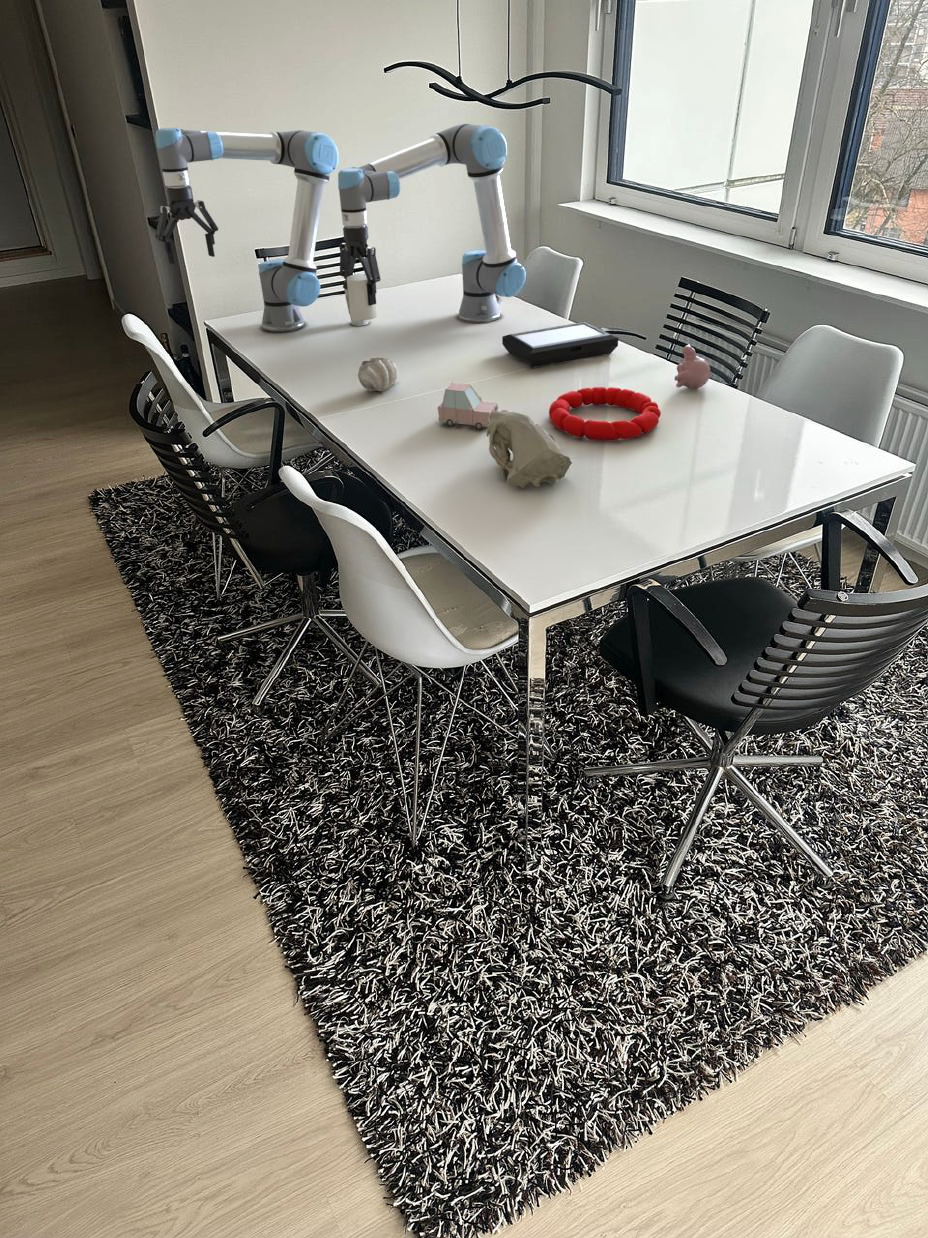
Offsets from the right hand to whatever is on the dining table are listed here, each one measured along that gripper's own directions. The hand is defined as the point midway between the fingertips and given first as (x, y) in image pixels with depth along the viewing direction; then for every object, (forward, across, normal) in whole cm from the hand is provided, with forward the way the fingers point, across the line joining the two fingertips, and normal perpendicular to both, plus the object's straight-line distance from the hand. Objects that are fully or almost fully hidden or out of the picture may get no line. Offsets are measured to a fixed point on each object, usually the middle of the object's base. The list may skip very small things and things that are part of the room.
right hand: (362, 302), depth 283 cm
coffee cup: (+18, -31, +27) cm, 45 cm away
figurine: (+19, +98, +36) cm, 106 cm away
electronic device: (+19, +49, +40) cm, 66 cm away
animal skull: (+18, +92, -38) cm, 101 cm away
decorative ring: (+18, +92, 0) cm, 93 cm away
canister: (+5, 0, 0) cm, 5 cm away
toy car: (+18, +62, -23) cm, 69 cm away
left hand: (-13, -45, -29) cm, 55 cm away
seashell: (+18, +24, -19) cm, 36 cm away
